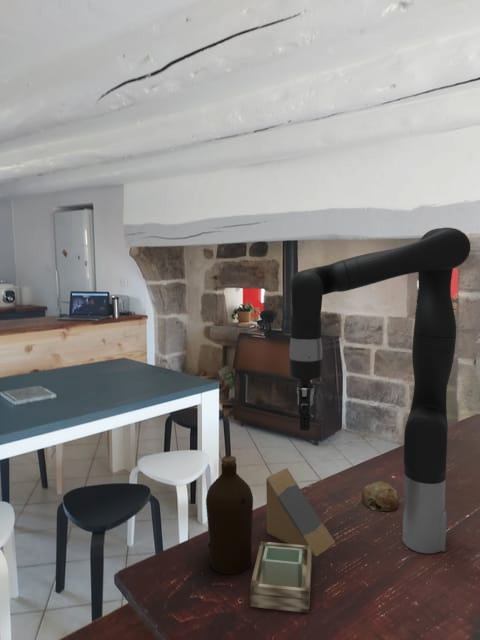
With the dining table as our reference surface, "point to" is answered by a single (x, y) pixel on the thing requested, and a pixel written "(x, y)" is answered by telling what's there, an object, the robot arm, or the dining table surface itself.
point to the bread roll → (380, 496)
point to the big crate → (282, 595)
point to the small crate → (282, 566)
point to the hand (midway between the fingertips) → (305, 423)
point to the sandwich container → (293, 515)
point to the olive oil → (229, 520)
